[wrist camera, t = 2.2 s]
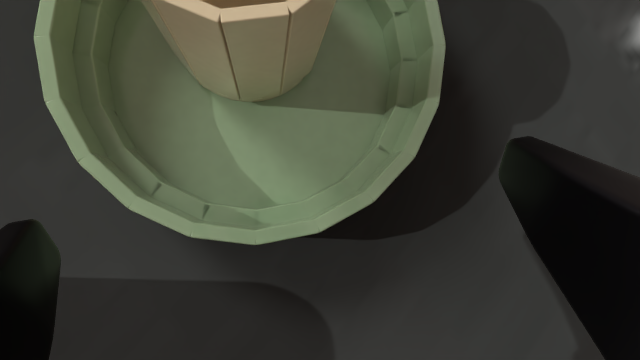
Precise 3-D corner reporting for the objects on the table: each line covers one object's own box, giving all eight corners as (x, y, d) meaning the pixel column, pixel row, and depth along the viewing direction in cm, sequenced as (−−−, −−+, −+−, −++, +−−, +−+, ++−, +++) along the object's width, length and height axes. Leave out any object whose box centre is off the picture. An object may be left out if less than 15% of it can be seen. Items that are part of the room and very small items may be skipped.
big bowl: (470, 75, 22) (517, 47, 18) (259, 302, 20) (257, 329, 16) (251, -148, 21) (247, -232, 17) (7, 68, 20) (-63, 33, 15)
